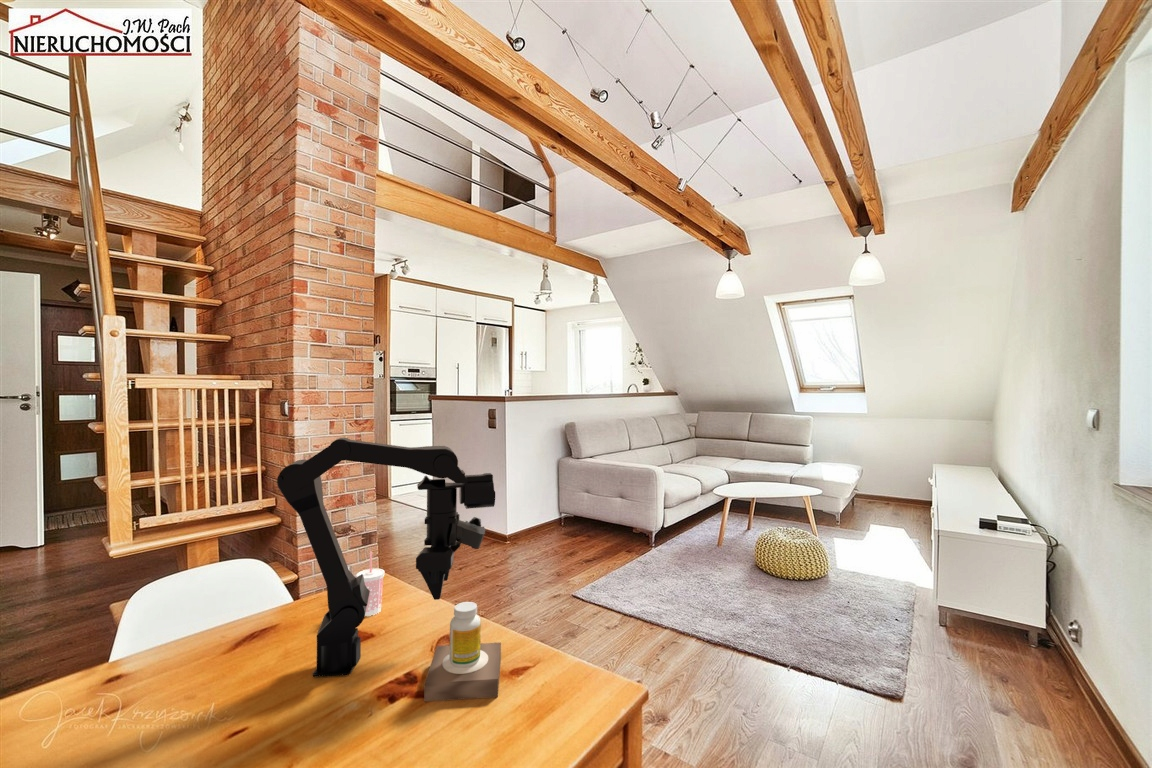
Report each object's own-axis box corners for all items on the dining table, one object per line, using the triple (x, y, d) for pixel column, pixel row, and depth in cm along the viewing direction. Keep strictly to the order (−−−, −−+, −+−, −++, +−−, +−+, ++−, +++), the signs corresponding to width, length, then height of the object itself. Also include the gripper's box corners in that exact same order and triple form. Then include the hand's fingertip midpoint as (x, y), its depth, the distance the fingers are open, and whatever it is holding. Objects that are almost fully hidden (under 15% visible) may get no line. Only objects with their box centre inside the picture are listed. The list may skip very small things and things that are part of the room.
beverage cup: (370, 604, 117) (371, 545, 117) (390, 609, 115) (390, 549, 115) (349, 615, 112) (350, 553, 112) (369, 620, 109) (370, 557, 109)
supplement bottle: (444, 659, 87) (444, 605, 88) (471, 649, 91) (471, 597, 91) (458, 672, 83) (458, 615, 83) (485, 661, 87) (486, 607, 87)
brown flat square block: (424, 701, 80) (424, 682, 80) (436, 661, 92) (437, 644, 92) (497, 696, 82) (497, 677, 82) (500, 658, 94) (501, 641, 94)
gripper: (478, 521, 88) (478, 608, 88) (486, 499, 107) (485, 570, 107) (415, 523, 87) (414, 611, 87) (434, 500, 106) (433, 572, 105)
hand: (441, 589), depth 97 cm, fingers open, 9 cm apart
